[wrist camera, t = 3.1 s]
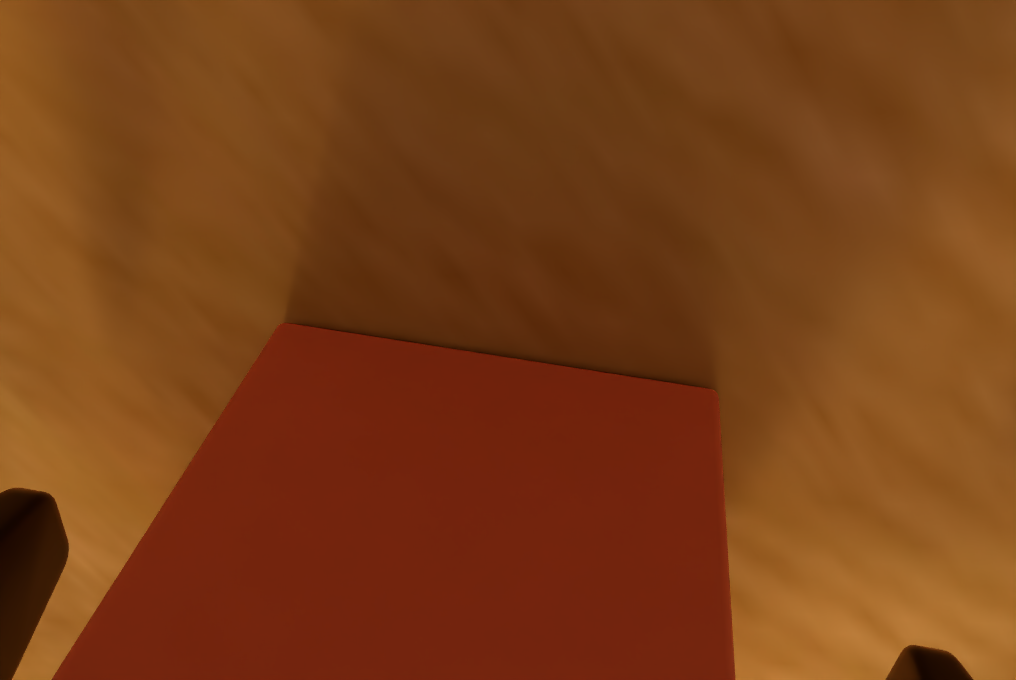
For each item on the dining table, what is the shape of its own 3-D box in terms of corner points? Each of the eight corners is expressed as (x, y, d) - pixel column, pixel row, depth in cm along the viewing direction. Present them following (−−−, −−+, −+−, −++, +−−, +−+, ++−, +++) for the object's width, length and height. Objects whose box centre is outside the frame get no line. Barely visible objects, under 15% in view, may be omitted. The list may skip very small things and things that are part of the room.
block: (304, 596, 12) (138, 993, 8) (279, 317, 9) (17, 722, 6) (643, 658, 11) (629, 1101, 8) (720, 386, 9) (750, 865, 5)
